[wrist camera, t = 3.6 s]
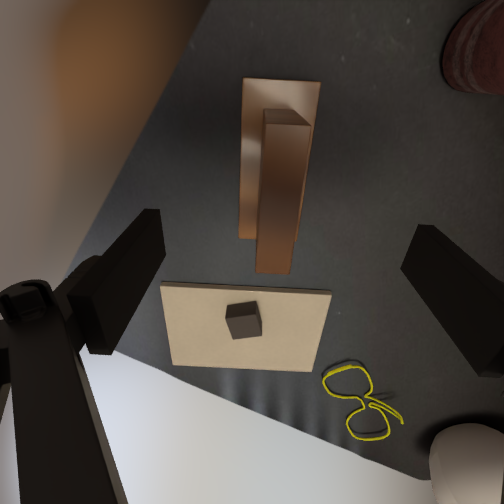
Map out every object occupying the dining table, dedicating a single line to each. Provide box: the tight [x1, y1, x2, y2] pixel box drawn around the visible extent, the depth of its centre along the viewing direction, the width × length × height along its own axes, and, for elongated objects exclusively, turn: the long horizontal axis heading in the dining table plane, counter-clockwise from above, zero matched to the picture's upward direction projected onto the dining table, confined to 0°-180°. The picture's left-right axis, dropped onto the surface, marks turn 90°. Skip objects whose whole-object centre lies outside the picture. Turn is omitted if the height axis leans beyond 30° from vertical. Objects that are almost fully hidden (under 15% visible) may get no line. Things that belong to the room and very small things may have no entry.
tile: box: [160, 282, 332, 372], centre depth 40 cm, size 22×16×1 cm
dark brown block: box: [225, 301, 262, 340], centre depth 36 cm, size 4×4×2 cm
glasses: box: [322, 364, 404, 441], centre depth 47 cm, size 25×10×5 cm, turn 25°
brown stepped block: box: [238, 77, 321, 274], centre depth 23 cm, size 14×6×12 cm, turn 177°
